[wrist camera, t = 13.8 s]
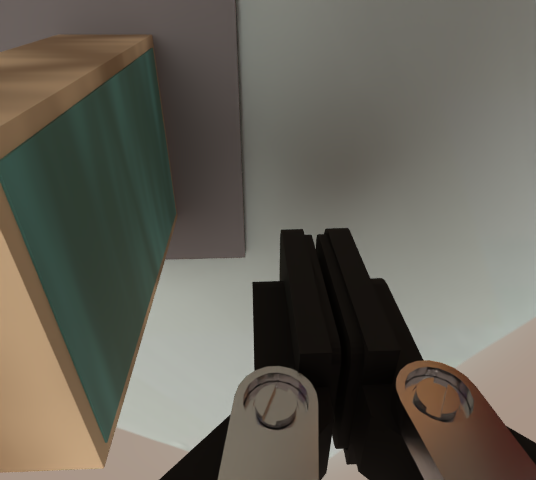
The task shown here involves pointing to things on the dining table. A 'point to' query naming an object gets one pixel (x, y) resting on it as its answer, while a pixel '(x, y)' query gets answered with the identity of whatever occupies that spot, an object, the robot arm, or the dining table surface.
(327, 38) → the dining table surface
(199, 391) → the dining table surface
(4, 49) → the mat
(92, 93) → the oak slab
